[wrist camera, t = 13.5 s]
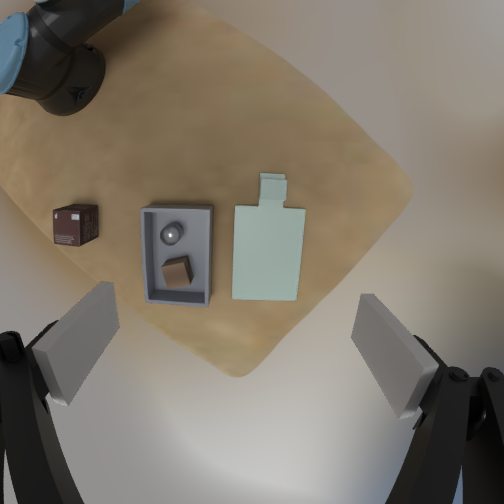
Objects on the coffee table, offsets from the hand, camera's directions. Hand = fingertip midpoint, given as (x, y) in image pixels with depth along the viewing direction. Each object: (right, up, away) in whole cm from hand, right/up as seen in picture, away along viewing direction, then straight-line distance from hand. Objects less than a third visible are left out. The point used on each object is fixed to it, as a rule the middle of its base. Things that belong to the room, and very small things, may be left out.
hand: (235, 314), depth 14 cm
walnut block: (-12, 0, +35) cm, 37 cm away
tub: (-12, +3, +35) cm, 37 cm away
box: (-30, +9, +33) cm, 45 cm away
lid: (+4, +5, +35) cm, 35 cm away
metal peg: (-12, +7, +33) cm, 36 cm away
